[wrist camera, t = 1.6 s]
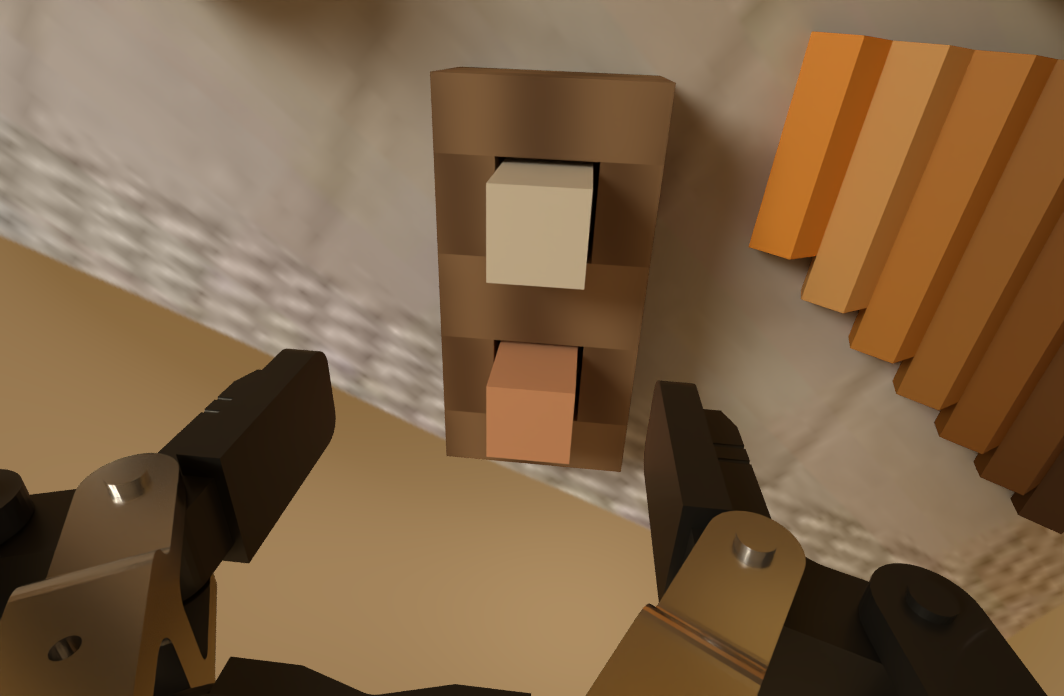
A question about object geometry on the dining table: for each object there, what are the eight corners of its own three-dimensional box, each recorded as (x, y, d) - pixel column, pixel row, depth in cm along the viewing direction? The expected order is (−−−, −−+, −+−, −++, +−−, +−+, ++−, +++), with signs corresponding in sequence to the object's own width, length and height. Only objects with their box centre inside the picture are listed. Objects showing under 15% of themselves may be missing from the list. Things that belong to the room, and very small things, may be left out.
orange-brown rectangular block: (578, 338, 30) (575, 393, 25) (572, 401, 32) (569, 464, 27) (503, 332, 30) (486, 386, 26) (502, 395, 32) (486, 456, 28)
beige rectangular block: (593, 162, 26) (592, 189, 21) (585, 247, 28) (584, 289, 23) (506, 157, 26) (486, 183, 21) (504, 241, 28) (486, 282, 23)
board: (660, 75, 28) (675, 83, 23) (616, 411, 38) (620, 471, 32) (460, 66, 29) (430, 71, 23) (467, 399, 38) (446, 455, 33)
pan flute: (1051, 499, 38) (1341, 94, 26) (1090, 538, 35) (1437, 100, 23) (679, 447, 39) (797, 32, 27) (686, 480, 36) (822, 30, 24)
